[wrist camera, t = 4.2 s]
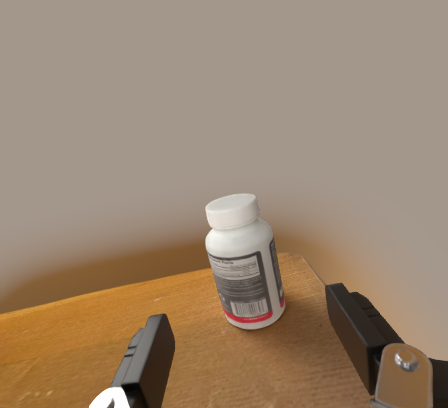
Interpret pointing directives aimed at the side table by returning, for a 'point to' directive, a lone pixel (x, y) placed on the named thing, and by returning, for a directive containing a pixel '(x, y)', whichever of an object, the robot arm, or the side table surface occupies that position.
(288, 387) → the side table surface
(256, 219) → the pill bottle
